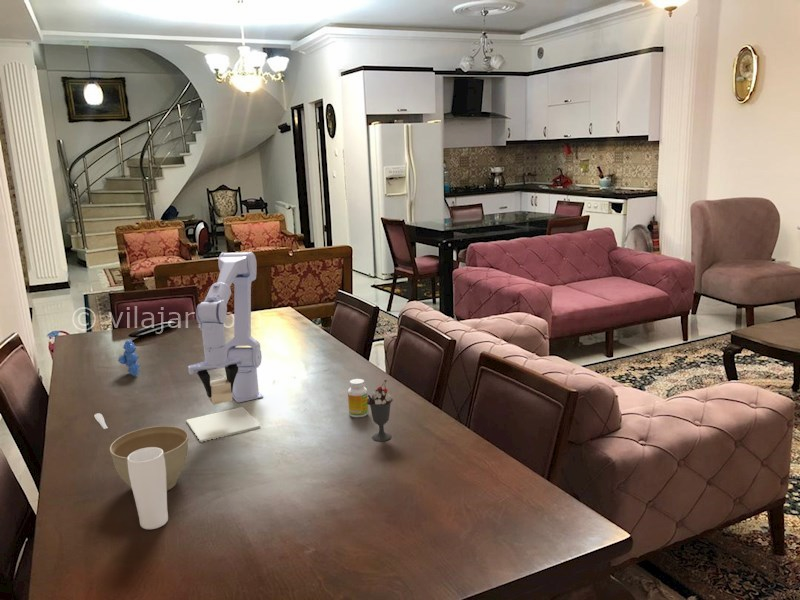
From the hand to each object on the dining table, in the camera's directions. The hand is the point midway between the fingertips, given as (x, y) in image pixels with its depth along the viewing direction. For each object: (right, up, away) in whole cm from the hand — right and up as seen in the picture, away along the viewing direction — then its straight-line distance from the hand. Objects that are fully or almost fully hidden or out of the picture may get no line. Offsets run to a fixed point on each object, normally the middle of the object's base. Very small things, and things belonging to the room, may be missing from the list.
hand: (219, 394), depth 173 cm
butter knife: (-31, -10, +2) cm, 33 cm away
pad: (0, -9, +2) cm, 9 cm away
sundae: (+44, -10, -9) cm, 46 cm away
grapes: (-44, -1, +46) cm, 63 cm away
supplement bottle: (+37, -7, +6) cm, 38 cm away
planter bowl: (-6, -16, -30) cm, 35 cm away
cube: (0, -2, 0) cm, 2 cm away
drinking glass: (0, -20, -45) cm, 49 cm away
